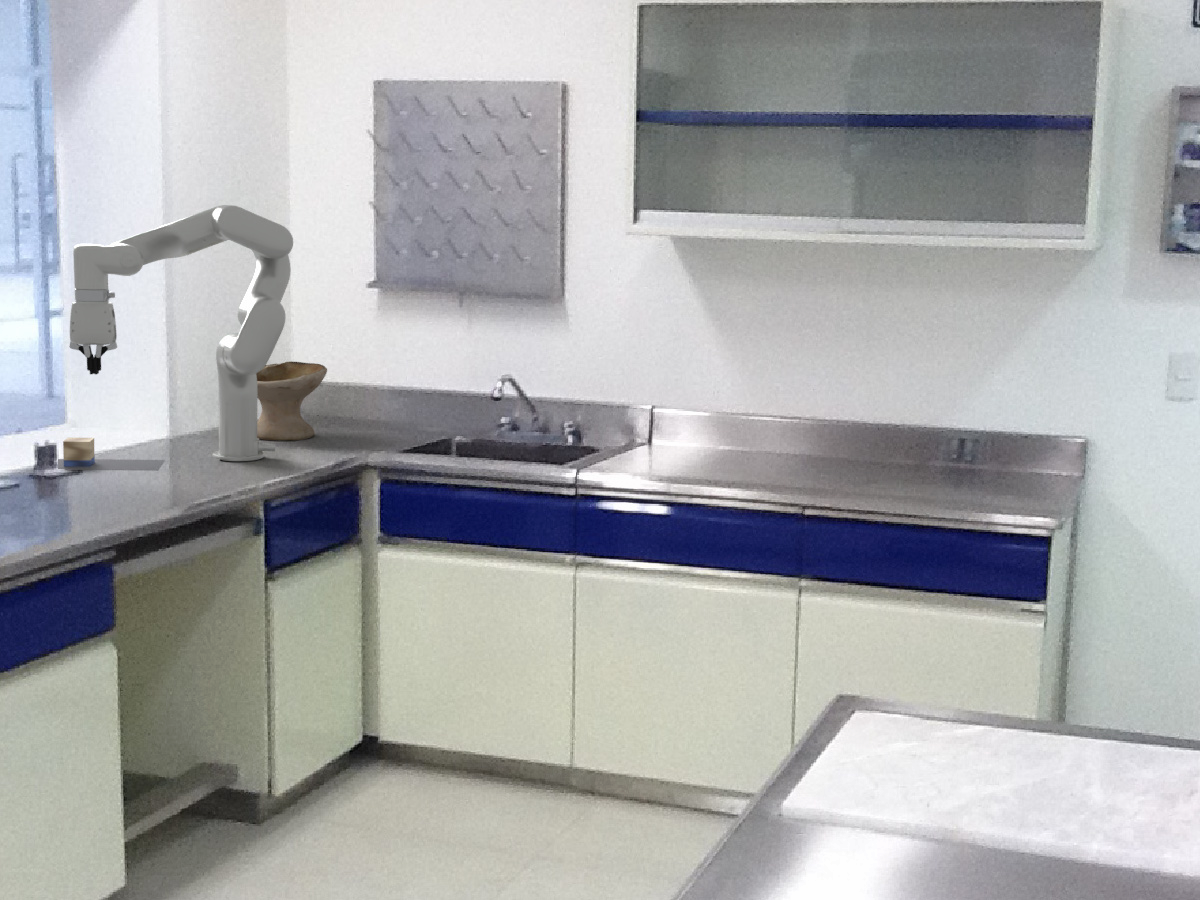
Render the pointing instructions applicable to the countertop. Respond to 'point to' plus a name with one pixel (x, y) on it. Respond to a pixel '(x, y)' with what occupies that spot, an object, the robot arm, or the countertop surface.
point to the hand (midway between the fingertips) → (94, 373)
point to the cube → (78, 452)
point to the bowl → (286, 399)
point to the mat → (116, 465)
